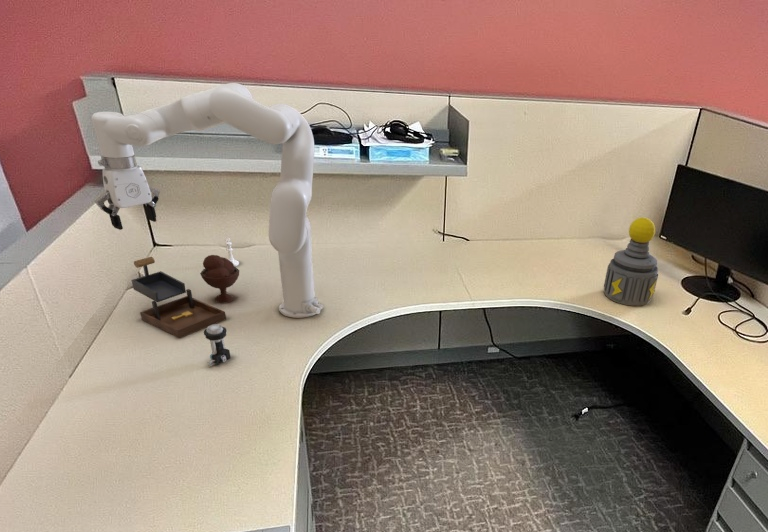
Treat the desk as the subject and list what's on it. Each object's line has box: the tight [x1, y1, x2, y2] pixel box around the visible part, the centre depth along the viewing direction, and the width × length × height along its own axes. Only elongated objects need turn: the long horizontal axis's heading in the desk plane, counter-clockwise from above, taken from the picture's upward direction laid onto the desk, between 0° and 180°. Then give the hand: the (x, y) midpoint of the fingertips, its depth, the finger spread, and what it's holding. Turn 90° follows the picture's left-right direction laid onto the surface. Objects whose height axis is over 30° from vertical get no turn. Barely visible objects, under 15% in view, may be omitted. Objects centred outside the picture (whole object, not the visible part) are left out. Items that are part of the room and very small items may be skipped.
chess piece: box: [224, 236, 240, 267], centre depth 202 cm, size 5×5×10 cm
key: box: [172, 311, 193, 320], centre depth 167 cm, size 6×2×1 cm, turn 149°
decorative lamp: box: [603, 216, 659, 307], centre depth 204 cm, size 19×19×30 cm
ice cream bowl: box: [199, 254, 240, 304], centre depth 176 cm, size 11×11×15 cm
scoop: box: [131, 256, 187, 303], centre depth 165 cm, size 12×9×8 cm
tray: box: [139, 288, 227, 339], centre depth 165 cm, size 17×15×7 cm
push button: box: [203, 323, 231, 367], centre depth 147 cm, size 7×5×10 cm
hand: (135, 224), depth 159 cm, fingers open, 9 cm apart
